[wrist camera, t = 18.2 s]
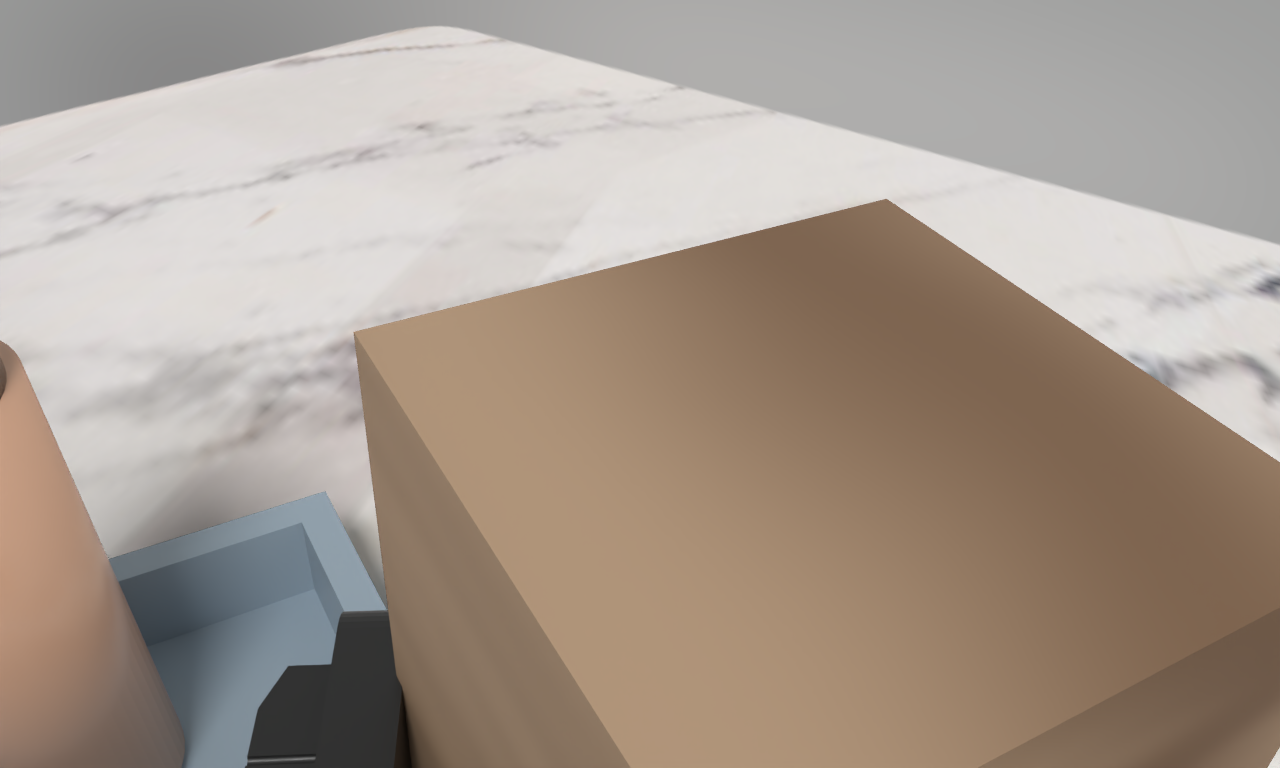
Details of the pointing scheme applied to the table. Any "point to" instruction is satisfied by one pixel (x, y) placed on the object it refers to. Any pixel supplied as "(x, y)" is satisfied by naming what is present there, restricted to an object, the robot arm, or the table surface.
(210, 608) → the tote
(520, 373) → the walnut block
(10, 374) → the terracotta jar
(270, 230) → the table surface
